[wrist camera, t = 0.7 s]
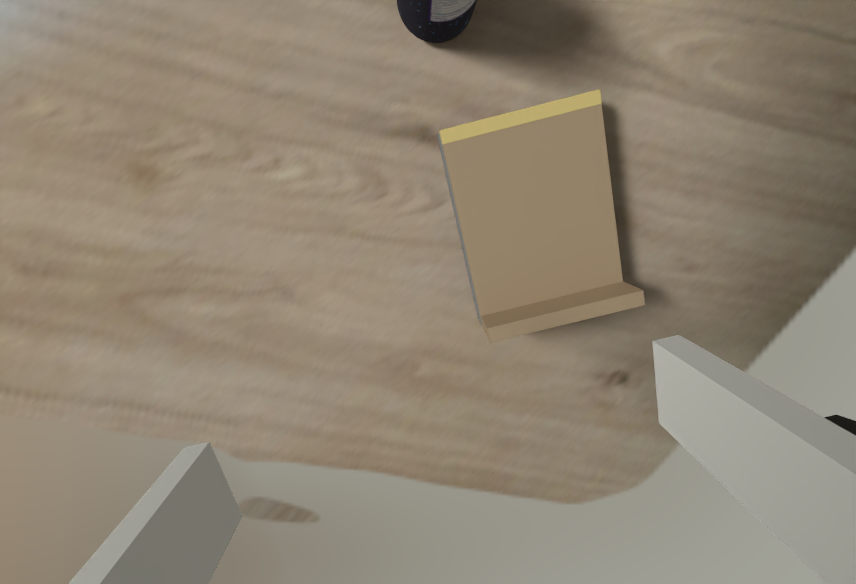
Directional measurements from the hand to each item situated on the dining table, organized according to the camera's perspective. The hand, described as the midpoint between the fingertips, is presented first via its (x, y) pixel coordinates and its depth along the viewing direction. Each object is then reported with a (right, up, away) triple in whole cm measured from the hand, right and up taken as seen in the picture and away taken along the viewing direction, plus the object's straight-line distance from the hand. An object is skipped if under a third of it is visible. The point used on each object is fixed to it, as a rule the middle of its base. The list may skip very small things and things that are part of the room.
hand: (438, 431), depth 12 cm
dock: (+8, +11, +22) cm, 26 cm away
